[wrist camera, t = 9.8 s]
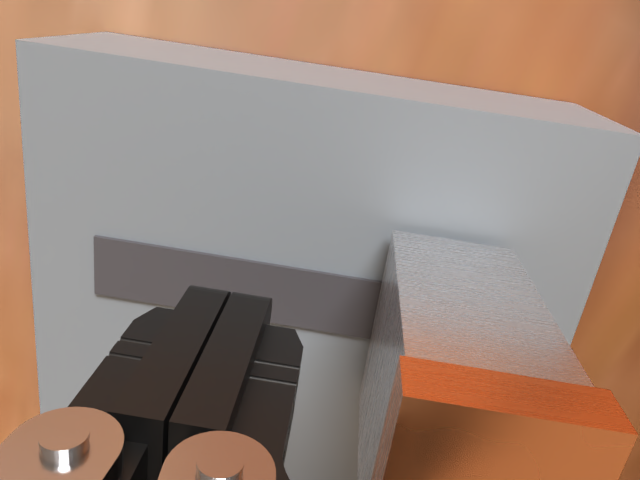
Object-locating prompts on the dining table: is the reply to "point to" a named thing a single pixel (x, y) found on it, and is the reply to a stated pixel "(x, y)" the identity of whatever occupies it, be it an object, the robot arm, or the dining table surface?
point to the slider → (477, 376)
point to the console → (286, 201)
